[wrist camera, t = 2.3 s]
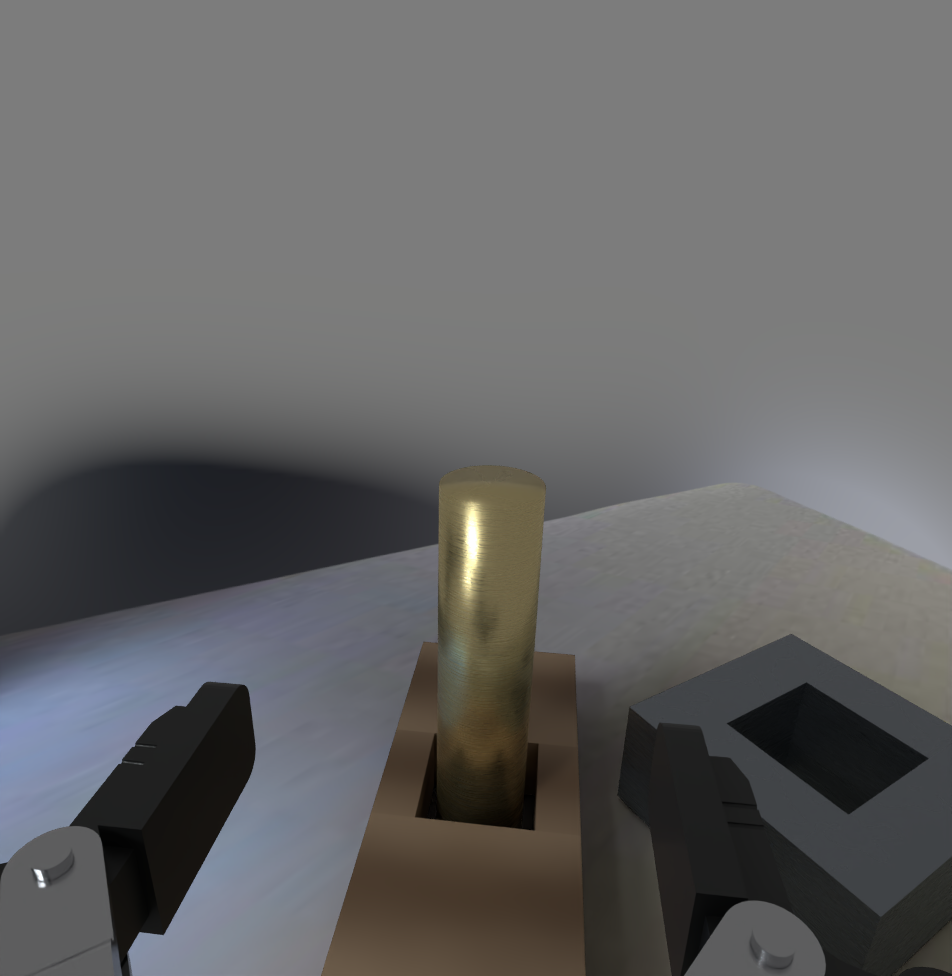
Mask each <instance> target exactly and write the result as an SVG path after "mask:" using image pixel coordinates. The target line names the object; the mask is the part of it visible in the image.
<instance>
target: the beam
mask: <svg viewBox="0 0 952 976" xmlns="http://www.w3.org/2000/svg"><path fill="white" fill-rule="evenodd" d="M437 693H438V643H431V642H423V645H422V648H421V652H420V655H419V658H418V661H417V665H416V668H415V671H414V674H413V678H412V681H411V684H410V687H409V691H408V694H407V697H406V700H405V704H404V707H403V710H402V714H401V717H400V720H399V723H398V727H397V730H396V733H395V736H394V740H393V743H392V746H391V749H390V753H389V756H388V759H387V762H386V766H385V769H384V772H383V775H382V779H381V782H380V785H379V788H378V792H377V795H376V798H375V802H374V805H373V808H372V811H371V815H370V818H369V821H368V824H367V828H366V831H365V834H364V837H363V841H362V844H361V847H360V850H359V854H358V857H357V860H356V863H355V867H354V870H353V873H352V877H351V880H350V883H349V886H348V890H347V893H346V896H345V899H344V903H343V906H342V909H341V912H340V916H339V919H338V922H337V925H336V929H335V932H334V935H333V938H332V942H331V945H330V948H329V951H328V955H327V958H326V961H325V965H324V968H323V971H322V974H321V976H586V973H585V943H584V914H583V884H582V854H581V825H580V795H579V766H578V736H577V707H576V677H575V655H568V654H556V653H545V652H534V661H533V675H532V689H531V703H530V717H529V731H528V745H527V759H526V773H525V787H524V794H527V795H535V797H534V821H533V830H525V829H516V828H507V827H498V826H489V825H480V824H471V823H461V822H452V821H443V820H434V819H427V816H428V811H429V807H430V802H431V797H432V792H433V788H434V785H437Z"/></svg>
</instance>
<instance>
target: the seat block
mask: <svg viewBox="0 0 952 976" xmlns="http://www.w3.org/2000/svg"><path fill="white" fill-rule="evenodd" d="M660 722H661V723H673V724H684V725H696V726H700V727H701V729H702V732H703V735H704V739H705V743H706V746H707V750H708V753H709V756H718V757H729V758H731V759H732V761H733V762H734V763H735V764H736V765H737V767H738V768H739V769H740V770H741V771H742V773H743V774H744V775H745V776H746V777H747V778H748V780H749V782H750V785H751V788H752V791H753V794H754V797H755V800H756V803H757V810H759V812H760V815H761V818H762V821H763V824H764V830H765V831H766V833H767V836H768V839H769V842H770V845H771V848H772V851H773V854H774V857H775V860H776V863H777V866H778V869H779V872H780V875H781V878H782V881H783V884H784V887H785V890H786V893H787V896H788V899H789V902H790V905H791V908H792V910H793V913H794V915H795V916H796V917H798V918H799V919H800V920H801V921H802V922H803V923H804V924H806V925H807V927H808V928H809V929H810V930H811V931H812V932H813V934H814V935H815V937H816V938H817V940H818V941H819V943H820V946H821V947H822V948H823V949H824V950H826V951H827V952H829V953H830V954H831V955H833V956H835V957H836V958H838V959H840V960H841V961H844V962H846V963H848V964H850V965H852V966H855V967H857V968H859V969H862V970H864V971H867V972H869V973H872V974H874V975H877V976H891V975H892V974H894V973H895V972H896V971H897V970H898V969H899V968H900V967H901V966H902V965H903V964H904V963H905V962H906V961H907V960H908V959H909V958H911V957H912V956H913V955H914V954H915V953H916V952H917V951H918V950H919V949H920V948H921V947H922V946H923V945H924V944H925V943H926V942H928V941H929V940H930V939H931V938H932V937H933V936H934V935H935V934H936V933H937V932H938V931H939V930H940V929H941V928H942V927H943V926H945V925H946V924H947V923H948V922H949V921H950V920H951V919H952V726H951V725H949V724H948V723H946V722H944V721H942V720H941V719H939V718H937V717H935V716H934V715H932V714H930V713H929V712H927V711H925V710H923V709H922V708H920V707H918V706H916V705H915V704H913V703H911V702H909V701H908V700H906V699H904V698H902V697H901V696H899V695H897V694H895V693H894V692H892V691H890V690H888V689H887V688H885V687H883V686H881V685H880V684H878V683H876V682H874V681H873V680H871V679H869V678H867V677H866V676H864V675H862V674H860V673H859V672H857V671H855V670H853V669H852V668H850V667H848V666H846V665H845V664H843V663H841V662H839V661H838V660H836V659H834V658H832V657H831V656H829V655H827V654H825V653H824V652H822V651H820V650H818V649H817V648H815V647H813V646H811V645H810V644H808V643H806V642H805V641H803V640H801V639H799V638H798V637H796V636H794V635H792V634H790V635H788V636H786V637H783V638H781V639H779V640H777V641H774V642H772V643H770V644H768V645H766V646H763V647H761V648H759V649H757V650H754V651H752V652H750V653H748V654H746V655H743V656H741V657H739V658H737V659H735V660H732V661H730V662H728V663H726V664H723V665H721V666H719V667H717V668H715V669H712V670H710V671H708V672H706V673H704V674H701V675H699V676H697V677H695V678H692V679H690V680H688V681H686V682H684V683H681V684H679V685H677V686H675V687H672V688H670V689H668V690H666V691H664V692H661V693H659V694H657V695H655V696H653V697H650V698H648V699H646V700H644V701H641V702H639V703H637V704H635V705H633V706H630V708H629V715H628V722H627V730H626V737H625V744H624V751H623V758H622V766H621V773H620V780H619V787H618V796H619V797H620V798H621V799H622V800H623V801H624V802H625V803H626V804H627V805H628V806H629V807H630V808H631V809H632V810H633V811H634V812H635V813H636V814H637V815H638V816H639V817H640V818H641V819H642V820H643V821H644V822H645V823H646V824H647V825H648V826H649V827H650V823H649V812H648V792H649V782H650V774H651V767H652V760H653V753H654V746H655V739H656V732H657V727H658V724H659V723H660ZM809 785H810V786H809ZM813 788H814V789H813ZM817 791H818V792H817ZM821 794H822V795H821ZM825 797H826V798H825ZM829 800H830V801H829ZM833 803H834V804H833ZM837 806H838V807H837ZM841 809H842V810H841ZM845 812H846V813H845Z"/></svg>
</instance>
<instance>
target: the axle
mask: <svg viewBox="0 0 952 976" xmlns="http://www.w3.org/2000/svg"><path fill="white" fill-rule="evenodd" d="M545 493H546V485H545V483H544V482H543V480H542V479H540V478H539V477H538V476H536V475H534V474H532V473H530V472H527V471H524V470H521V469H517V468H511V467H505V466H492V465H483V466H471V467H465V468H461V469H457V470H454V471H451V472H449V473H447V474H446V475H445V476H443V477H442V478H441V480H440V482H439V570H438V693H437V815H436V820H443V821H452V822H461V823H471V824H480V825H489V826H498V827H507V828H516V829H522V815H523V801H524V787H525V773H526V759H527V745H528V731H529V717H530V703H531V689H532V675H533V661H534V647H535V633H536V619H537V605H538V591H539V577H540V563H541V549H542V535H543V521H544V507H545Z"/></svg>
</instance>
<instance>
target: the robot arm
mask: <svg viewBox="0 0 952 976" xmlns="http://www.w3.org/2000/svg"><path fill="white" fill-rule="evenodd" d="M255 751H256V747H255V738H254V729H253V721H252V713H251V705H250V697H249V691H248V689H247V687H246V686H245V685H241V684H229V683H218V682H206V683H205V684H203V685H202V687H201V688H200V689H199V690H198V692H197V693H196V694H195V696H194V697H193V698H192V700H191V701H190V702H189V704H188V705H187V706H186V707H184V706H175V707H173V708H172V709H170V710H169V711H168V712H166V713H165V714H163V715H162V716H160V717H159V718H158V719H156V720H155V721H153V722H152V723H151V724H150V725H149V727H148V728H147V729H146V730H145V732H144V733H143V734H142V735H141V737H140V738H139V739H138V740H137V742H136V743H135V747H132V748H131V749H130V750H129V752H128V753H127V754H126V755H125V757H124V758H123V759H122V763H121V764H118V765H117V767H116V768H115V769H114V770H113V772H112V773H111V774H110V776H109V777H108V778H107V779H106V781H105V782H104V783H103V784H102V786H101V787H100V788H99V789H98V791H97V792H96V793H95V794H94V796H93V797H92V798H91V799H90V801H89V802H88V803H87V804H86V806H85V807H84V808H83V809H82V811H81V812H80V813H79V814H78V816H77V817H76V818H75V819H74V821H73V822H72V823H71V824H70V826H69V827H63V828H58V829H55V830H52V831H49V832H47V833H44V834H42V835H40V836H38V837H36V838H35V839H33V840H32V841H30V842H28V843H27V844H26V845H24V846H23V847H22V848H21V849H19V850H18V851H17V852H16V853H15V854H14V855H13V857H12V858H11V859H10V860H9V862H7V863H3V864H0V976H132V970H131V963H130V958H129V953H128V951H129V949H130V947H131V946H132V944H133V942H134V940H135V939H136V937H137V935H138V933H139V932H143V933H152V934H160V935H164V934H165V932H166V930H167V928H168V926H169V924H170V923H171V921H172V919H173V917H174V915H175V913H176V912H177V910H178V908H179V906H180V904H181V902H182V901H183V899H184V897H185V895H186V893H187V891H188V890H189V888H190V886H191V884H192V882H193V880H194V879H195V877H196V875H197V873H198V871H199V869H200V868H201V866H202V864H203V862H204V860H205V859H206V857H207V855H208V853H209V851H210V849H211V848H212V846H213V844H214V842H215V840H216V838H217V837H218V835H219V833H220V831H221V829H222V827H223V826H224V824H225V822H226V820H227V818H228V816H229V815H230V813H231V811H232V809H233V807H234V805H235V804H236V802H237V800H238V798H239V796H240V794H241V793H242V791H243V789H244V787H245V785H246V783H247V782H248V780H249V778H250V775H251V772H252V769H253V765H254V760H255ZM648 812H649V823H650V830H651V836H652V843H653V850H654V857H655V864H656V870H657V877H658V884H659V891H660V897H661V904H662V911H663V918H664V925H665V931H666V938H667V945H668V952H669V959H670V965H671V972H672V976H877V975H874V974H872V973H869V972H867V971H864V970H862V969H859V968H857V967H855V966H852V965H850V964H848V963H846V962H844V961H841V960H840V959H838V958H836V957H835V956H833V955H831V954H830V953H829V952H827V951H826V950H824V949H823V948H822V947H821V946H820V943H819V941H818V940H817V938H816V937H815V935H814V934H813V932H812V931H811V930H810V929H809V928H808V927H807V925H806V924H804V923H803V922H802V921H801V920H800V919H799V918H798V917H796V916H795V915H794V913H793V910H792V908H791V905H790V902H789V899H788V896H787V893H786V890H785V887H784V884H783V881H782V878H781V875H780V872H779V869H778V866H777V863H776V860H775V857H774V854H773V851H772V848H771V845H770V842H769V839H768V836H767V833H766V831H765V830H764V824H763V821H762V818H761V815H760V812H759V810H757V803H756V800H755V797H754V794H753V791H752V788H751V785H750V782H749V780H748V778H747V777H746V776H745V775H744V774H743V773H742V771H741V770H740V769H739V768H738V767H737V765H736V764H735V763H734V762H733V761H732V759H731V758H729V757H718V756H709V753H708V750H707V746H706V743H705V739H704V735H703V732H702V729H701V727H700V726H696V725H684V724H673V723H661V722H660V723H659V724H658V727H657V732H656V739H655V746H654V753H653V760H652V767H651V774H650V782H649V792H648ZM899 976H952V974H950V973H947V972H945V971H942V970H939V969H935V968H929V967H914V968H911V969H907V970H905V971H904V972H902V973H901V974H900V975H899Z"/></svg>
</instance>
